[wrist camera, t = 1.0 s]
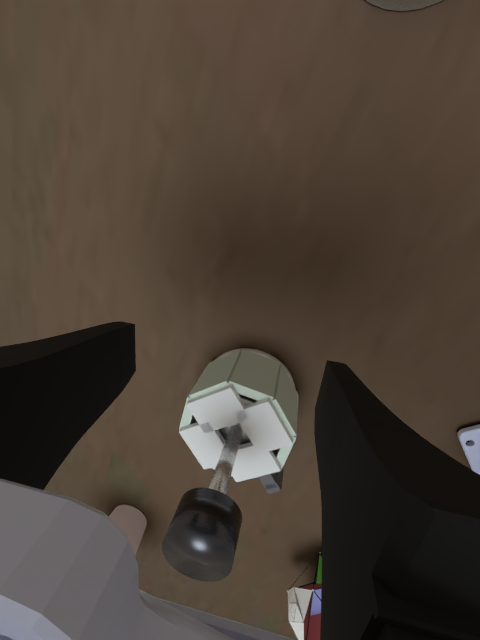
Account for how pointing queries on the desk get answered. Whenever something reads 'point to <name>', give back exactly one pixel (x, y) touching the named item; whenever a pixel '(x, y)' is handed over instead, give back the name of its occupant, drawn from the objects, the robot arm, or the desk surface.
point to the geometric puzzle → (306, 607)
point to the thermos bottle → (402, 4)
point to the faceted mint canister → (244, 414)
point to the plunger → (208, 519)
